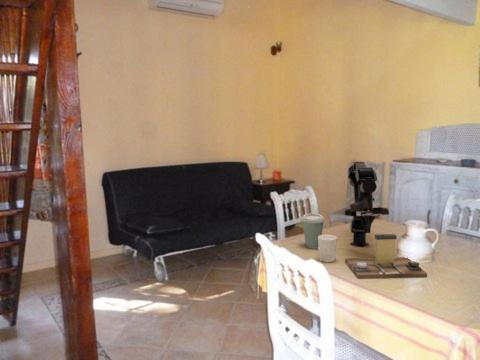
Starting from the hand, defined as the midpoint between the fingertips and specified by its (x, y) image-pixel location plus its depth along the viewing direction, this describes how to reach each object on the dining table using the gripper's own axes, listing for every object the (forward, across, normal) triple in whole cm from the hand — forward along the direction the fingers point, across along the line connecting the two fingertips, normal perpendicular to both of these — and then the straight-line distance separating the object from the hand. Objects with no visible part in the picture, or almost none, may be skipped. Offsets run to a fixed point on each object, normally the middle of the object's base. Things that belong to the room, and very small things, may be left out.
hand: (366, 232), depth 171 cm
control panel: (+15, +10, -4) cm, 18 cm away
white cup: (+12, -11, -12) cm, 21 cm away
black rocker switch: (+12, +20, +2) cm, 23 cm away
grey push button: (+14, +8, -14) cm, 21 cm away
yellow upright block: (+13, +11, -4) cm, 18 cm away
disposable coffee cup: (+7, -27, -4) cm, 28 cm away
